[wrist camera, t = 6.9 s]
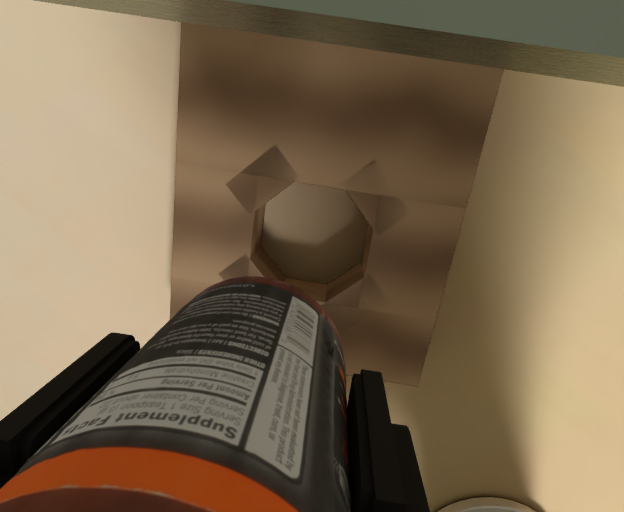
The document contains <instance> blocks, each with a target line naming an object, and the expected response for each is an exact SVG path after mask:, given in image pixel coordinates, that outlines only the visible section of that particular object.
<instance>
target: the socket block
mask: <svg viewBox="0 0 624 512" xmlns="http://www.w3.org/2000/svg"><path fill="white" fill-rule="evenodd" d="M503 70H504V69H499V68H493V67H486V66H479V65H472V64H465V63H458V62H452V61H445V60H438V59H431V58H424V57H417V56H411V55H404V54H397V53H390V52H383V51H376V50H370V49H363V48H356V47H349V46H342V45H335V44H328V43H322V42H315V41H308V40H301V39H294V38H287V37H281V36H274V35H267V34H260V33H253V32H246V31H240V30H233V29H226V28H219V27H212V26H205V25H199V24H192V23H185V22H181V46H180V72H179V98H178V123H177V149H176V175H175V201H174V226H173V252H172V278H171V303H170V319H172V318H173V317H174V316H175V315H176V313H177V312H178V311H179V310H180V309H181V308H182V307H184V306H185V305H186V304H187V303H188V302H190V301H191V300H192V299H193V298H194V297H195V296H197V295H198V294H199V293H201V292H202V291H203V290H205V289H206V288H208V287H209V286H212V285H214V284H216V283H219V282H221V281H224V280H228V279H231V278H238V277H245V276H256V277H265V278H271V279H277V280H280V281H283V282H286V283H289V284H291V285H293V286H294V287H296V288H298V289H301V290H302V291H303V292H305V293H306V294H308V295H309V296H310V297H311V298H313V299H314V300H315V301H316V302H318V303H319V304H320V305H321V306H322V307H323V308H324V309H325V311H326V312H327V313H328V315H329V316H330V317H331V319H332V320H333V323H334V325H335V327H336V329H337V331H338V334H339V336H340V339H341V343H342V348H343V354H344V361H345V369H346V375H351V376H353V374H354V373H355V374H360V372H361V370H362V369H364V370H371V371H378V372H381V373H382V377H383V381H386V382H392V383H397V384H403V385H409V386H415V387H418V383H419V380H420V376H421V372H422V368H423V365H424V361H425V357H426V354H427V350H428V346H429V343H430V339H431V335H432V332H433V328H434V324H435V321H436V317H437V313H438V309H439V306H440V302H441V298H442V295H443V291H444V287H445V284H446V280H447V276H448V273H449V269H450V265H451V262H452V258H453V254H454V251H455V247H456V243H457V239H458V236H459V232H460V228H461V225H462V221H463V217H464V214H465V210H466V206H467V203H468V199H469V195H470V192H471V188H472V184H473V180H474V177H475V173H476V169H477V166H478V162H479V158H480V155H481V151H482V147H483V144H484V140H485V136H486V133H487V129H488V125H489V121H490V118H491V114H492V110H493V107H494V103H495V99H496V96H497V92H498V88H499V85H500V81H501V77H502V74H503ZM293 182H300V183H307V184H313V185H319V186H326V187H332V188H338V189H345V190H346V192H347V193H348V194H349V196H350V197H351V199H352V200H353V201H354V203H355V204H356V206H357V207H358V208H359V210H360V211H361V213H362V214H363V216H364V217H365V218H366V220H367V221H368V223H369V224H368V229H367V234H366V240H365V245H364V250H363V255H362V260H361V262H360V263H359V264H357V265H356V266H354V267H353V268H351V269H350V270H348V271H347V272H345V273H344V274H342V275H341V276H339V277H338V278H336V279H335V280H333V281H332V282H330V283H329V284H322V283H316V282H310V281H304V280H298V279H292V278H286V277H285V276H284V274H283V273H282V272H281V271H280V269H279V268H278V267H277V265H276V264H275V263H274V262H273V260H272V259H271V258H270V257H269V255H268V254H267V253H266V251H265V250H264V249H263V248H262V246H261V239H262V230H263V221H264V212H265V203H267V202H268V201H269V200H271V199H272V198H273V197H274V196H276V195H277V194H278V193H280V192H281V191H282V190H284V189H285V188H286V187H288V186H289V185H290V184H292V183H293Z"/></svg>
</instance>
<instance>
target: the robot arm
mask: <svg viewBox="0 0 624 512" xmlns="http://www.w3.org/2000/svg"><path fill="white" fill-rule="evenodd" d="M139 350H140V344H139V342H138V341H135V338H134V336H132V335H127V334H120V333H110V334H108V335H107V336H106V337H105V338H103V339H102V340H101V341H100V342H98V343H97V344H96V345H95V346H93V347H92V348H91V349H90V350H88V351H87V352H86V353H85V354H83V355H82V356H81V357H80V358H78V359H77V360H76V361H75V362H73V363H72V364H71V365H70V366H68V367H67V368H66V369H65V370H63V371H62V372H61V373H60V374H58V375H57V376H56V377H55V378H53V379H52V380H51V381H50V382H48V383H47V384H46V385H45V386H44V387H42V388H41V389H40V390H39V391H37V392H36V393H35V394H34V395H32V396H31V397H30V398H29V399H27V400H26V401H25V402H24V403H22V404H21V405H20V406H19V407H17V408H16V409H15V410H14V411H12V412H11V413H10V414H9V415H7V416H6V417H5V418H4V419H2V420H1V421H0V489H1V488H2V487H3V486H4V485H5V484H6V483H7V482H8V481H10V480H11V479H12V478H13V476H14V475H15V474H16V473H17V472H18V471H19V470H20V468H21V467H22V466H23V465H24V464H25V463H26V462H27V460H28V459H29V458H31V457H32V456H33V455H34V454H35V453H36V452H37V451H38V450H39V449H40V448H41V447H42V446H43V445H44V444H45V443H46V442H47V441H48V440H49V439H50V438H51V437H52V436H53V435H54V434H55V433H56V432H57V431H58V430H59V429H60V428H61V427H62V426H64V425H65V423H66V422H67V421H68V420H69V419H70V418H71V417H72V416H73V415H74V414H75V413H76V412H77V411H79V409H80V408H81V407H82V406H84V405H85V404H86V403H87V402H88V401H89V400H90V399H91V398H92V397H93V396H94V395H95V394H96V393H97V392H98V391H99V390H100V389H101V388H102V387H103V386H104V385H105V384H106V383H107V382H108V381H109V380H110V379H111V378H112V377H113V376H114V375H115V374H116V373H117V372H118V371H119V370H120V369H121V368H122V367H123V366H124V365H125V364H126V363H127V362H128V361H129V360H130V359H131V358H132V357H133V356H134V355H135V354H136V353H137V352H138V351H139ZM347 431H348V460H349V482H350V495H351V512H430V510H429V506H428V502H427V498H426V494H425V490H424V486H423V482H422V478H421V474H420V470H419V466H418V462H417V458H416V454H415V450H414V446H413V442H412V438H411V434H410V431H409V428H408V427H407V426H405V425H398V424H392V423H391V420H390V414H389V409H388V404H387V399H386V393H385V388H384V383H383V377H382V373H381V372H378V371H371V370H364V369H362V370H361V372H360V374H355V373H354V374H353V377H352V383H351V388H350V394H349V400H348V405H347ZM437 512H536V511H534V510H533V509H531V508H529V507H528V506H526V505H523V504H521V503H518V502H516V501H512V500H507V499H503V498H493V497H481V498H471V499H466V500H462V501H458V502H456V503H453V504H450V505H448V506H446V507H444V508H443V509H441V510H439V511H437Z"/></svg>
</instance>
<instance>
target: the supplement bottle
mask: <svg viewBox="0 0 624 512" xmlns="http://www.w3.org/2000/svg"><path fill="white" fill-rule="evenodd" d="M0 512H351V495H350V482H349V460H348V431H347V400H346V369H345V361H344V354H343V348H342V343H341V339H340V336H339V334H338V331H337V329H336V327H335V325H334V323H333V320H332V319H331V317H330V316H329V315H328V313H327V312H326V311H325V309H324V308H323V307H322V306H321V305H320V304H319V303H318V302H316V301H315V300H314V299H313V298H311V297H310V296H309V295H308V294H306V293H305V292H303V291H302V290H301V289H298V288H296V287H294V286H293V285H291V284H289V283H286V282H283V281H280V280H277V279H271V278H265V277H256V276H245V277H238V278H231V279H228V280H224V281H221V282H219V283H216V284H214V285H212V286H209V287H208V288H206V289H205V290H203V291H202V292H201V293H199V294H198V295H197V296H195V297H194V298H193V299H192V300H191V301H190V302H188V303H187V304H186V305H185V306H184V307H182V308H181V309H180V310H179V311H178V312H177V313H176V315H175V316H174V317H173V318H172V319H170V320H169V321H168V322H167V323H166V324H165V325H164V326H163V327H162V328H161V329H160V330H159V331H158V332H157V333H156V334H155V335H154V336H153V337H152V338H151V339H150V340H149V341H148V342H147V343H146V344H145V345H144V346H143V347H142V348H141V349H140V350H139V351H138V352H137V353H136V354H135V355H134V356H133V357H132V358H131V359H130V360H129V361H128V362H127V363H126V364H125V365H124V366H123V367H122V368H121V369H120V370H119V371H118V372H117V373H116V374H115V375H114V376H113V377H112V378H111V379H110V380H109V381H108V382H107V383H106V384H105V385H104V386H103V387H102V388H101V389H100V390H99V391H98V392H97V393H96V394H95V395H94V396H93V397H92V398H91V399H90V400H89V401H88V402H87V403H86V404H85V405H84V406H82V407H81V408H80V409H79V411H77V412H76V413H75V414H74V415H73V416H72V417H71V418H70V419H69V420H68V421H67V422H66V423H65V425H64V426H62V427H61V428H60V429H59V430H58V431H57V432H56V433H55V434H54V435H53V436H52V437H51V438H50V439H49V440H48V441H47V442H46V443H45V444H44V445H43V446H42V447H41V448H40V449H39V450H38V451H37V452H36V453H35V454H34V455H33V456H32V457H31V458H29V459H28V460H27V462H26V463H25V464H24V465H23V466H22V467H21V468H20V470H19V471H18V472H17V473H16V474H15V475H14V476H13V478H12V479H11V480H10V481H8V482H7V483H6V484H5V485H4V486H3V487H2V488H1V489H0Z"/></svg>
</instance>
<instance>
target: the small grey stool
mask: <svg viewBox="0 0 624 512" xmlns="http://www.w3.org/2000/svg"><path fill="white" fill-rule="evenodd" d="M35 1H41V2H48V3H55V4H62V5H69V6H76V7H82V8H89V9H96V10H103V11H110V12H117V13H123V14H130V15H137V16H144V17H151V18H158V19H164V20H171V21H178V22H185V23H192V24H199V25H205V26H212V27H219V28H226V29H233V30H240V31H246V32H253V33H260V34H267V35H274V36H281V37H287V38H294V39H301V40H308V41H315V42H322V43H328V44H335V45H342V46H349V47H356V48H363V49H370V50H376V51H383V52H390V53H397V54H404V55H411V56H417V57H424V58H431V59H438V60H445V61H452V62H458V63H465V64H472V65H479V66H486V67H493V68H499V69H506V70H513V71H520V72H527V73H534V74H540V75H547V76H554V77H561V78H568V79H575V80H581V81H588V82H595V83H602V84H609V85H616V86H622V87H624V0H35Z"/></svg>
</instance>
